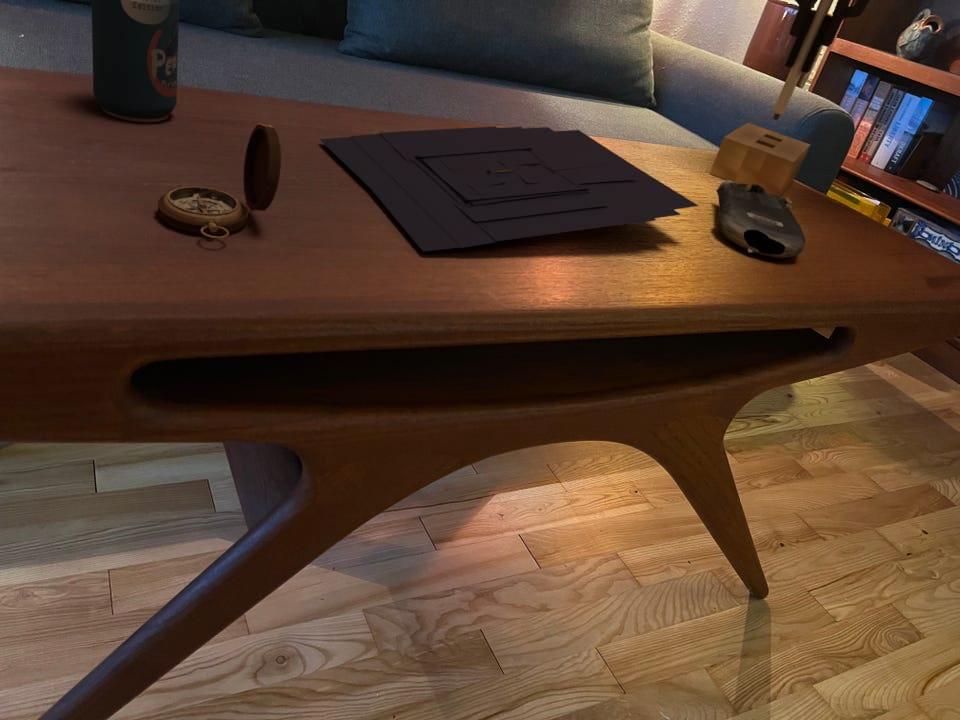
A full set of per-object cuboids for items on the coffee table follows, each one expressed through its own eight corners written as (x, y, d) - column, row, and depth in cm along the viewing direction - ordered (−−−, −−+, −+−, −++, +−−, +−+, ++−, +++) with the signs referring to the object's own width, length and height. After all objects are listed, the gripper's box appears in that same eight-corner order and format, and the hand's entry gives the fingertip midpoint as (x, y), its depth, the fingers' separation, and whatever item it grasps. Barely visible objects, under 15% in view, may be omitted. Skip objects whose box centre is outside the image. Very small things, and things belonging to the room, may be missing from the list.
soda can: (171, 129, 70) (175, -14, 64) (86, 116, 68) (82, -33, 62) (179, 107, 76) (184, -27, 70) (101, 94, 74) (98, -45, 67)
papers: (704, 240, 75) (715, 205, 73) (421, 284, 61) (425, 242, 59) (564, 147, 91) (570, 116, 89) (317, 164, 78) (318, 129, 76)
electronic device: (699, 212, 92) (717, 240, 78) (722, 168, 90) (745, 188, 76) (770, 244, 92) (801, 278, 78) (796, 201, 90) (832, 228, 76)
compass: (149, 199, 57) (150, 100, 54) (257, 203, 61) (266, 111, 58) (167, 249, 52) (170, 143, 48) (285, 250, 56) (296, 151, 52)
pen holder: (794, 178, 112) (810, 144, 109) (777, 199, 100) (794, 161, 97) (733, 156, 114) (747, 122, 112) (709, 173, 102) (724, 136, 100)
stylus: (781, 120, 101) (834, -2, 93) (779, 121, 100) (833, -2, 92) (770, 116, 101) (823, -5, 94) (769, 118, 100) (821, -5, 93)
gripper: (823, -172, 84) (736, 52, 96) (961, -141, 80) (851, 90, 92) (831, -160, 90) (748, 49, 103) (960, -131, 86) (857, 85, 98)
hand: (797, 68), depth 97 cm, fingers closed on stylus
